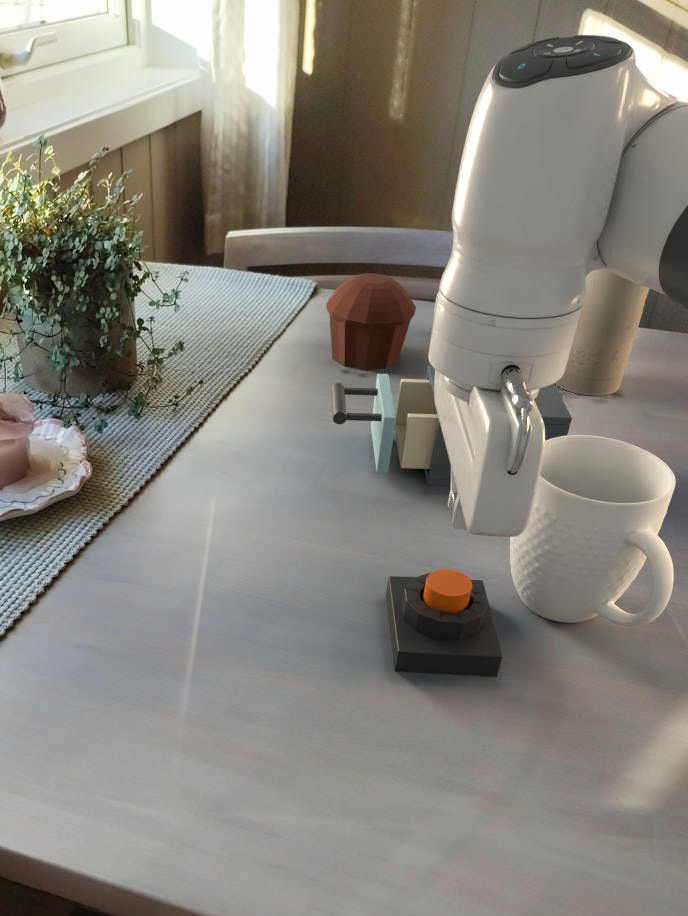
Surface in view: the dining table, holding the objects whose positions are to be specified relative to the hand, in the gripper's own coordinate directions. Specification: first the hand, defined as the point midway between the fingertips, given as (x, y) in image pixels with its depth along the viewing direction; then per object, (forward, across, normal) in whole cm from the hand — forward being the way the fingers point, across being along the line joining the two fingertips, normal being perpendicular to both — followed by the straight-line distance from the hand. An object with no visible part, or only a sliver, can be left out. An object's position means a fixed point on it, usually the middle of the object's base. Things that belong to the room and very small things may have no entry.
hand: (461, 519), depth 67 cm
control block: (+11, 0, 0) cm, 11 cm away
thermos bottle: (+11, +51, -24) cm, 58 cm away
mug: (+11, +5, -12) cm, 17 cm away
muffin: (+11, +57, +3) cm, 58 cm away
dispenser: (+11, +30, -8) cm, 33 cm away
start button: (+8, 0, 0) cm, 8 cm away
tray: (+10, +30, 0) cm, 32 cm away
